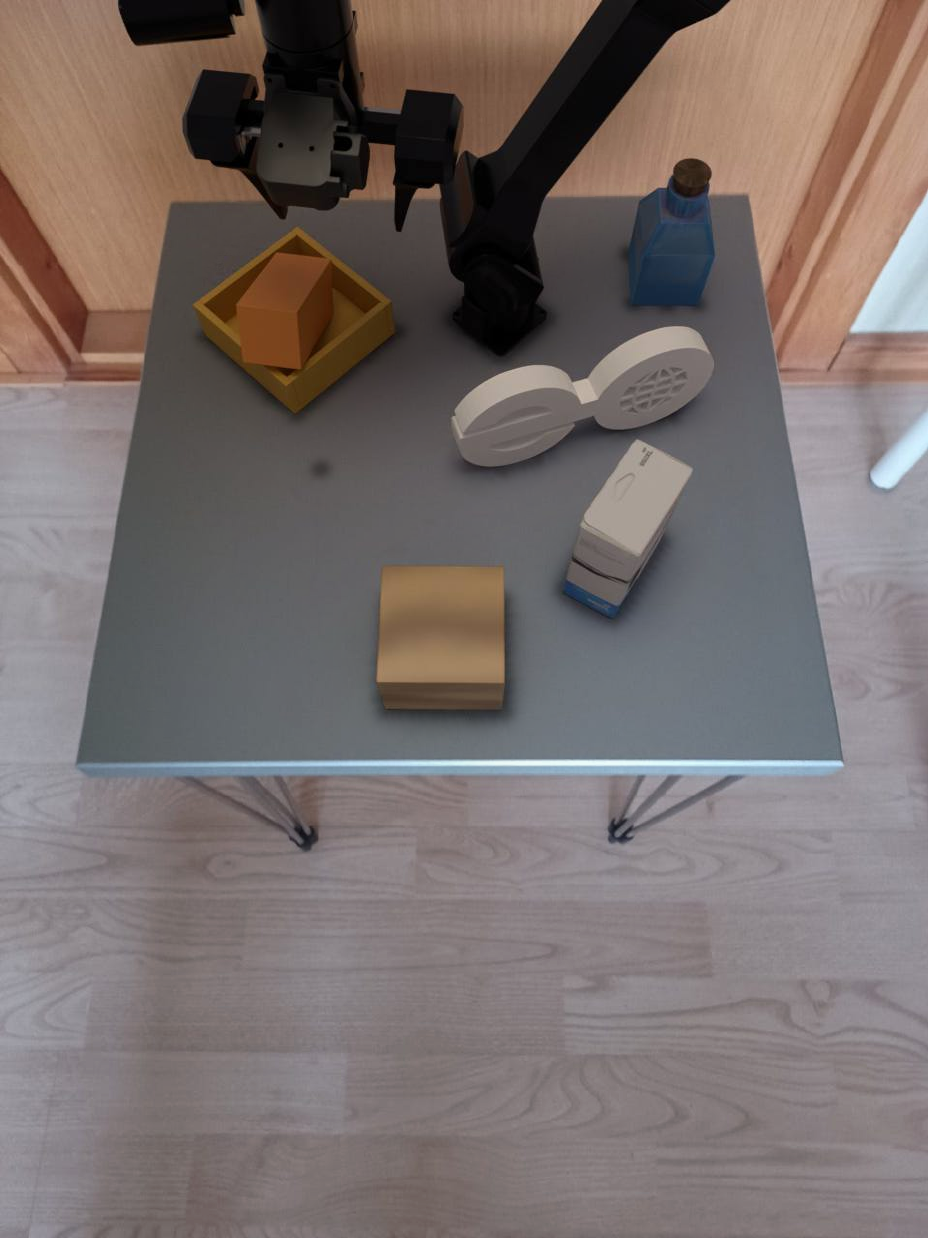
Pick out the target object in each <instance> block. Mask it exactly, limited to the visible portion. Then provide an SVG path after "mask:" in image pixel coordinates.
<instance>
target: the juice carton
mask: <svg viewBox="0 0 928 1238" xmlns="http://www.w3.org/2000/svg"><path fill="white" fill-rule="evenodd" d="M236 309H237V317H238V325H239V333H240V341H241V350H242V358H243V362H246V363H253V364H261V365H269V366H277V367H284V368H292V369H300V370H301V369H302V367H303V365H304V364H305V362H306V360H307V358H308V357H309V355H310V353H311V351H312V350H313V348H314V346H315V344H316V343H317V341H318V339H319V337H320V336H321V334H322V332H323V330H324V329H325V327H326V325H327V324H328V322H329V320H330V318H331V317H332V315H333V313H334V310H333V287H332V263H331V259H327V258H318V257H310V256H302V255H294V254H286V253H276V254H275V255H274V256H273V258H272V259H271V260H270V261H269V263H268V264H267V265H266V267H265V268H264V269H263V271H262V272H261V273H260V274H259V276H258V277H257V278H256V280H255V281H254V282H253V283H252V285H251V286H250V287H249V289H248V290H247V291H246V293H245V294H244V295H243V296H242V298H241V299H240V300H239V302H238V303H237V304H236Z"/></svg>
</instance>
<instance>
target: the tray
mask: <svg viewBox="0 0 928 1238" xmlns="http://www.w3.org/2000/svg"><path fill="white" fill-rule="evenodd" d="M276 253H286V254H294V255H302V256H310V257H318V258H327V259H331V263H332V287H333V310H334V313H333V315H332V317H331V318H330V320H329V322H328V324H327V325H326V327H325V329H324V330H323V332H322V334H321V336H320V337H319V339H318V341H317V343H316V344H315V346H314V348H313V350H312V351H311V353H310V355H309V357H308V358H307V360H306V362H305V364H304V365H303V367H302V369H301V370H300V369H292V368H284V367H277V366H269V365H261V364H253V363H246V362H243V358H242V350H241V341H240V333H239V325H238V317H237V309H236V304H237V303H238V302H239V300H240V299H241V298H242V296H243V295H244V294H245V293H246V291H247V290H248V289H249V287H250V286H251V285H252V283H253V282H254V281H255V280H256V278H257V277H258V276H259V274H260V273H261V272H262V271H263V269H264V268H265V267H266V265H267V264H268V263H269V261H270V260H271V259H272V258H273V256H274V255H275V254H276ZM392 303H393V302H392V300H391V299H390V298H388V297H387V296H385V295H384V294H383V293H382V292H380V291H379V290H378V289H377V288H376V287H374V286H373V285H372V284H370V282H368V281H366V279H364V278H363V277H361V276H360V275H359V274H358V273H356V272H355V271H354V270H353V269H351V267H349V266H348V265H347V264H345V263H344V262H343V261H341V260H340V259H339V258H338V257H336V256H335V255H334V254H333V253H331V252H330V251H329V250H327V249H326V248H325V247H324V246H323V245H321V244H320V243H319V242H318V241H316V240H315V239H314V238H313V237H311V236H310V235H309V234H307V232H305V231H304V230H302V229H301V228H300V227H299V226H296V227H295V228H293V229H292V230H291V231H290V232H288V233H287V234H285V235H284V236H283V237H281V238H280V239H279V240H277V241H276V242H275V243H273V244H272V245H270V246H269V247H268V248H267V249H266V250H264V251H263V252H261V253H260V254H258V255H257V256H256V257H255V258H253V259H252V260H251V261H250V262H248V263H247V264H245V265H244V266H242V267H241V268H240V269H238V270H237V271H236V272H234V273H233V274H232V275H230V276H229V277H227V278H226V279H224V281H222V282H221V283H220V284H218V285H217V286H216V287H214V288H213V289H212V290H210V291H209V292H207V293H206V294H205V295H204V296H202V297H200V298H199V299H198V300H197V301H195V302H194V303H193V304H192V308H193V309H194V311H195V315H196V316H197V319H198V320H199V323H200V325H201V326H200V327H201V328H202V330H203V333H204V335H205V336H206V337H207V338H208V339H209V340H210V341H211V342H212V343H213V344H214V345H216V346H217V347H218V348H219V349H220V350H221V351H222V352H223V353H225V354H226V355H227V356H228V357H230V358H231V359H232V360H233V361H234V362H235V363H236V364H237V365H238V366H239V367H241V368H242V369H243V370H244V371H245V372H246V373H247V374H248V375H250V376H251V377H252V378H253V379H255V380H256V381H257V382H258V383H259V384H260V385H261V386H262V387H263V388H265V389H266V390H267V391H268V392H269V393H270V394H271V395H272V396H274V397H275V398H276V399H277V400H278V401H279V402H281V403H282V405H284V406H285V407H286V408H288V410H290V411H291V412H292V413H293V414H295V415H296V414H298V413H299V412H300V411H301V410H302V409H304V407H306V406H308V404H309V403H311V402H312V401H313V400H314V399H316V398H317V397H318V396H319V395H321V394H322V393H323V392H324V391H326V390H327V389H328V388H329V387H330V386H332V385H333V384H334V383H335V382H337V381H338V380H339V379H340V378H342V376H344V375H345V374H346V373H348V372H349V371H350V370H351V369H353V368H354V367H355V366H356V365H357V364H359V363H360V362H361V361H362V360H364V359H365V358H366V357H367V356H368V355H369V354H371V353H372V352H373V351H375V350H376V349H377V348H378V347H379V346H381V345H382V344H383V343H384V342H385V341H387V340H388V339H389V338H390V337H391V336H393V335H395V333H396V329H395V327H396V326H395V319H394V310H393V304H392Z"/></svg>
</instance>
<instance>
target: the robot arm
mask: <svg viewBox="0 0 928 1238" xmlns="http://www.w3.org/2000/svg"><path fill="white" fill-rule="evenodd" d="M731 1H732V0H601V1H600V2H599V4H598V5H597V7H596V8H595V9H594V11H593V12H592V14H591V16H590V17H589V18H588V19H587V21H586V22H585V24H584V25H583V27H582V29H580V31H579V33H578V34H577V35H576V37H575V39H573V41H572V43H571V44H570V46H569V47H568V49H567V50H566V51H565V53H564V54H563V56H562V57H561V59H560V60H559V62H558V63H557V65H556V66H555V67H554V69H553V70H552V71H551V73H550V75H549V76H548V78H547V79H546V81H545V83H544V84H543V85H542V86H541V88H540V89H539V91H538V92H537V94H536V95H535V96H534V98H533V100H532V101H531V102H530V104H529V105H528V106H527V108H526V109H525V111H524V112H523V114H522V115H521V117H520V118H519V119H518V121H517V123H516V124H515V126H514V127H513V128H512V129H511V131H510V133H509V134H508V136H507V137H506V138H505V140H504V141H503V143H502V144H501V146H499V148H497V150H494V151H492V152H489V153H486V154H484V155H482V156H479V157H478V156H476V155H475V154H473V153H472V152H470V151H468V150H467V149H466V150H465V149H464V150H463V151H462V152H461V154H460V153H459V152H460V147H461V142H462V138H463V132H464V127H465V123H464V122H465V121H464V120H465V117H464V115H465V114H464V113H465V112H464V111H465V110H464V109H465V108H464V105H463V103H462V101H461V100H460V99H459V98H458V96H457V94H456V93H452V92H451V93H450V92H441V91H440V92H439V91H430V90H421V89H420V90H419V89H411V88H410V89H409V88H406V89H405V93H404V96H403V101H402V105H401V109H393V108H386V107H385V108H384V107H373V106H365V103H364V101H365V100H364V91H365V87H366V82H365V75H364V74H365V73H364V71H361V69H360V63H359V62H360V61H359V54H358V53H359V52H358V46H357V38H356V34H357V31H358V27H359V25H358V15H357V10H353V7H352V6H353V5H352V0H254V4H255V9H256V14H257V17H258V22H259V25H260V31H261V37H262V39H263V40H262V41H263V44H264V49H265V56H264V58H263V62H262V65H261V67H262V71H263V78H262V80H263V83H264V84H263V85H264V88H265V90H264V99H263V100H261V99H257V98H258V97H259V94H260V88H259V84H258V80H257V76H255V75H253V74H251V73H245V72H235V71H224V70H216V69H204V68H202V70H201V71H200V73H199V74H198V76H197V77H196V79H195V81H194V85H193V87H192V90H191V92H190V96H189V98H188V101H187V103H186V106H185V109H184V112H183V115H182V117H181V127H182V131H181V132H182V135H183V137H184V141H185V143H186V146H187V149H188V151H189V154H190V155H191V156H192V157H193V158H194V159H195V160H202V161H209V162H210V164H211V165H212V166H214V167H216V168H221V169H229V170H235V171H239V172H240V173H241V174H242V175H243V176H244V177H245V178H246V179H247V180H248V181H249V182H250V184H252V185H253V187H254V188H255V189H256V191H257V192H258V193H259V194H260V196H261V197H262V198H263V200H264V201H265V202H266V203H267V204H268V206H269V207H270V209H271V210H272V211H273V212H274V213H275V215H276V216H277V217H278V219H279V220H284V221H285V220H286V219H287V216H288V212H289V208H288V207H298V208H307V209H315V210H317V211H321V212H322V211H323V212H325V211H326V212H327V211H331V210H333V209H335V207H337V206H338V204H339V203H340V200H341V199H350V194H351V192H352V191H354V190H357V191H364V190H365V189H366V187H367V184H368V174H369V169H370V168H369V167H370V160H371V147H370V144H376V145H383V146H384V145H387V146H393V147H394V149H393V160H394V161H393V162H394V170H395V171H394V174H393V180H392V185H393V186H394V206H393V207H394V208H393V209H394V210H393V216H394V217H393V221H394V222H393V223H394V228H395V231H396V233H401V232H402V231H403V227H404V225H405V221H406V218H407V215H408V212H409V208H410V205H411V202H412V200H413V198H414V196H415V194H416V192H417V191H418V190H419V189H423V190H429V189H432V188H433V187H435V185H438V187H439V192H440V198H439V212H440V213H439V214H440V218H441V219H440V220H441V225H442V232H443V239H444V244H445V245H444V246H445V252H446V259H447V266H448V268H449V271H450V273H451V275H452V276H453V277H454V278H455V280H457V281H459V282H461V283H463V295H461V304H460V305H459V306H458V307H457V308H456V309H455V310H453V311H452V313H451V320H452V321H453V322H455V323H456V324H457V325H458V326H460V327H461V330H463V331H464V332H465V333H467V334H468V335H469V336H470V337H472V338H473V339H474V340H476V341H477V342H478V343H479V344H481V345H484V346H485V347H486V348H488V349H489V350H490V351H491V352H493V353H494V354H495V355H497V356H501V357H502V356H505V355H506V354H507V353H508V352H509V351H511V349H513V348H514V347H515V346H516V345H517V344H518V343H520V342H521V341H522V340H523V339H524V338H526V337H527V336H528V335H530V333H531V332H533V331H534V330H535V329H536V328H537V327H539V326H540V324H542V323H543V322H544V321H545V320H547V317H548V311H547V310H546V309H545V308H544V307H542V306H541V305H539V304H538V303H537V302H538V300H539V298H540V297H541V294H542V293H543V291H544V289H545V286H544V281H543V276H542V271H541V266H540V257H539V255H538V251H537V246H536V241H535V236H534V234H535V232H536V228H537V224H538V220H539V217H540V214H541V210H542V206H543V202H544V201H545V199H546V197H547V195H548V194H550V192H551V190H552V189H553V188H554V187H555V185H557V183H558V181H559V180H561V178H562V176H563V175H564V174H565V173H566V171H567V170H568V169H569V168H570V166H571V165H572V164H573V162H574V161H575V160H576V159H577V157H578V156H579V155H580V153H581V152H582V151H583V150H584V149H585V147H587V145H588V143H589V142H590V141H591V140H592V138H593V137H594V136H595V134H596V133H597V132H598V130H600V128H601V127H602V125H603V124H604V123H605V122H606V120H607V119H608V118H609V117H610V115H611V114H612V113H613V111H614V110H615V109H616V108H617V106H618V105H619V104H620V103H621V102H622V100H623V99H624V97H625V96H626V95H627V93H629V91H630V90H631V88H633V86H634V85H635V83H636V82H637V81H638V80H639V78H640V77H641V76H642V75H643V74H644V72H645V71H646V70H647V68H648V67H649V66H650V64H651V63H652V61H654V59H655V58H656V57H657V55H659V53H660V52H661V50H662V49H663V48H664V46H665V45H666V44H667V43H668V42H669V40H670V39H671V38H673V36H674V35H676V33H677V32H680V31H682V30H684V29H686V28H688V27H690V26H693V25H695V24H698V23H700V22H702V21H704V20H706V19H708V18H711V17H713V16H715V15H716V14H719V13H720V11H722V10H723V9H724V8H725V7H726V6H727V5H728V4H729V3H730V2H731ZM245 5H246V4H245V0H117V9H118V13H119V15H120V18H121V20H122V24H123V26H124V28H125V31H126V34H127V35H128V37H129V39H130V41H131V42H132V44H133V45H134V46H135V47H146V46H147V47H148V46H157V45H167V44H178V43H190V42H200V41H201V42H202V41H210V40H222V39H230V38H231V37H232V36H234V35H237V30H236V24H235V23H236V22H235V19H234V16H235V17H245V16H246V6H245ZM459 154H460V155H459Z"/></svg>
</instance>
